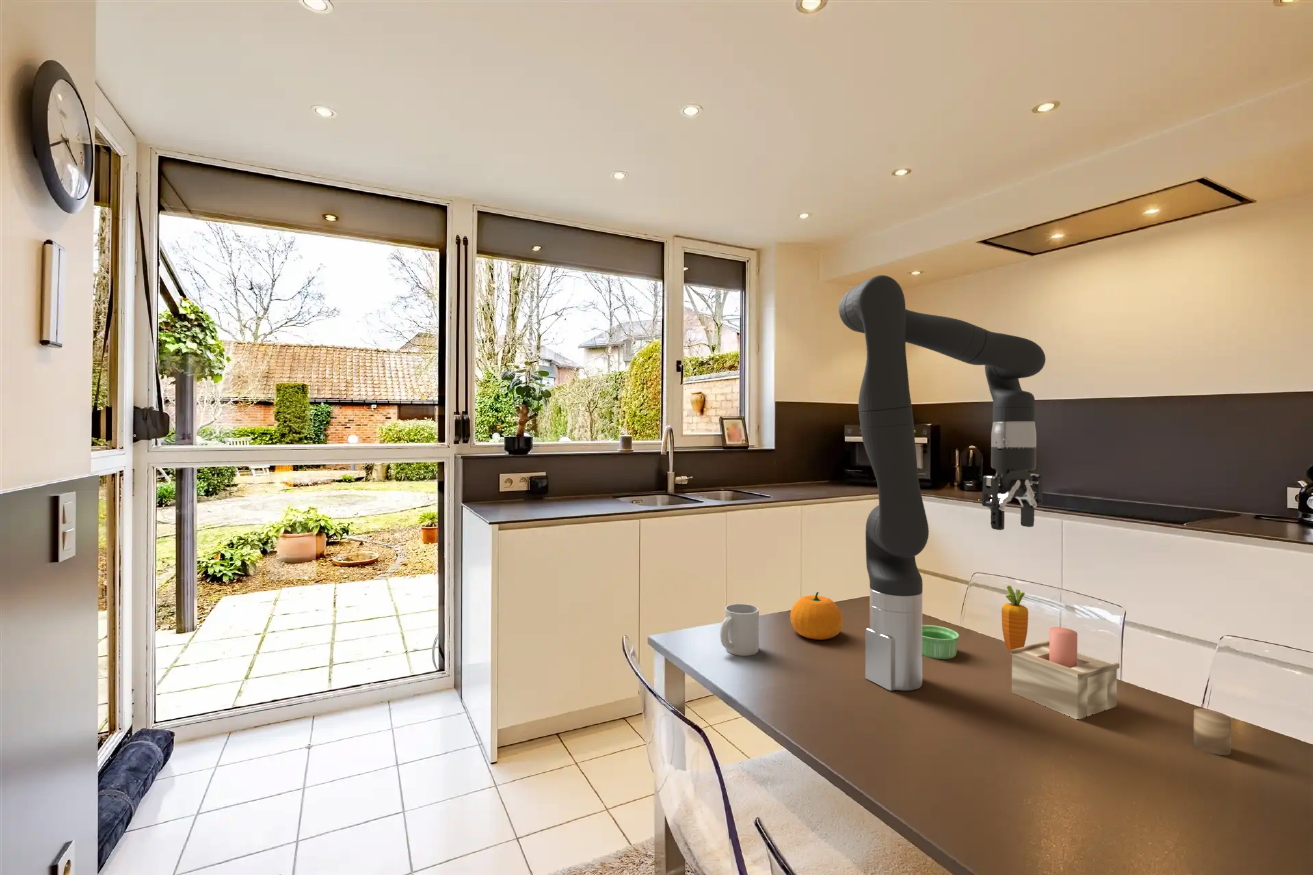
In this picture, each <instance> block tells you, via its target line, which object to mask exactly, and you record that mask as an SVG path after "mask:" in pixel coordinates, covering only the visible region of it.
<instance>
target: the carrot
mask: <svg viewBox="0 0 1313 875" xmlns="http://www.w3.org/2000/svg"><path fill="white" fill-rule="evenodd" d="M1006 589H1007V591H1008V593H1007V594H1005V597H1006V599H1007V600H1008V601H1009V602H1008V603H1004V604H1003V605H1002V607H1001V627H1002V628H1001V629H1002V634H1003V639H1004V645H1005V647H1006V650H1007V651H1008V654H1009V656H1010V657H1011V658H1012V655H1010V650H1013V649H1017V648H1021V647H1025V645H1026V640H1027V637H1028V627H1029V626H1028V625H1029V609H1028V608H1027V607H1026V606H1025V605H1024V604H1023V605H1022V604H1020V603H1021V602H1022V600H1023V598H1024V597H1025V595H1026V593H1025V592H1024V591H1021V590H1020V589H1018V588H1016V589H1015V591H1014V589H1013V587H1012V586H1011V585H1006ZM1015 592H1016V593H1015Z"/></svg>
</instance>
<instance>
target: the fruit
mask: <svg viewBox="0 0 1313 875" xmlns="http://www.w3.org/2000/svg"><path fill="white" fill-rule="evenodd" d="M819 593H820V592H818V591H817V592H815V595H814V594H813V595H812V594H811V595H806V596H802V597H800V598H799V599H798V600H797V601H796V602H795V603H794V604H793V606H792V608H791V610H790V615H789V616H790V617H789V618H790V619H789V620H790V624H791V626H792V629H793V630H794V631H795V632H796V633H797V634H798V635H800V636H802V637H804V638H807V639H811V640H821V641H822V640H829V639H832V638H834V637H836V636H837V635H839V633H840V632H841V629H842V627H843V619H844V618H843V614H842V612H841V609H840V608H839V607H838V605H837V604H836V603H835V601H833V600H832V599H830V597H826V596H822V595H819Z"/></svg>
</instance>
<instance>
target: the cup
mask: <svg viewBox="0 0 1313 875" xmlns="http://www.w3.org/2000/svg"><path fill="white" fill-rule="evenodd" d="M719 635H720V636H719V637H720V643H721V645H722V646H723V647H724V648H725V650H726V652H727V653H729V654H731V655H733V656H734V655H735V656H740V657H741V656H742V657H745V656H747V657H748V656H753V655H754V656H755V655H756V654H757V653H758V652H759V649H760V648H759V647H760V609H759V607H757V606H755V605H753V604H747V603H732V604H728V605H726V606H725V607H724V619H723V621H722V623H721V626H720V632H719Z"/></svg>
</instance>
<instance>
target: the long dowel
mask: <svg viewBox="0 0 1313 875" xmlns="http://www.w3.org/2000/svg"><path fill="white" fill-rule="evenodd" d="M1048 641H1049V661H1051V662H1054V663H1057V664H1060V665H1063V666H1065V667H1068V668H1073V667H1076V666H1077V653H1078V632H1077V631H1076V630H1074V629H1073V630H1072V629H1071V628H1065V627H1056V626H1054V627H1050V628H1049V640H1048Z"/></svg>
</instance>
